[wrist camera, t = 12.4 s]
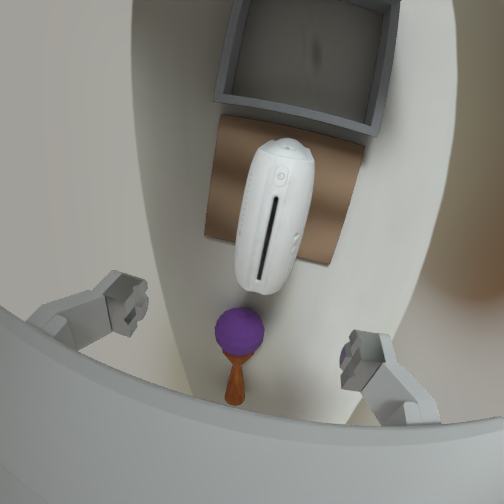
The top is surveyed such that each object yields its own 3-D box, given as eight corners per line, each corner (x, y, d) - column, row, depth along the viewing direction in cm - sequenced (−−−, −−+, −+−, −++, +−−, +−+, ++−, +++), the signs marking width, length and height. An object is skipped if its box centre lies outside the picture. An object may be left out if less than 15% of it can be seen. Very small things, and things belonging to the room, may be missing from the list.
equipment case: (249, -25, 17) (207, -108, 4) (391, 5, 17) (453, -60, 3) (221, 102, 25) (143, 92, 11) (369, 135, 24) (440, 157, 11)
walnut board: (222, 114, 25) (220, 114, 25) (363, 146, 24) (365, 146, 24) (205, 233, 31) (204, 235, 31) (329, 261, 31) (329, 264, 30)
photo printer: (269, 132, 25) (245, 142, 14) (313, 142, 25) (326, 160, 14) (250, 230, 30) (220, 300, 19) (290, 239, 29) (283, 315, 19)
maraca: (210, 404, 41) (205, 323, 30) (225, 378, 46) (227, 292, 35) (245, 417, 39) (256, 340, 29) (257, 389, 44) (273, 306, 34)
